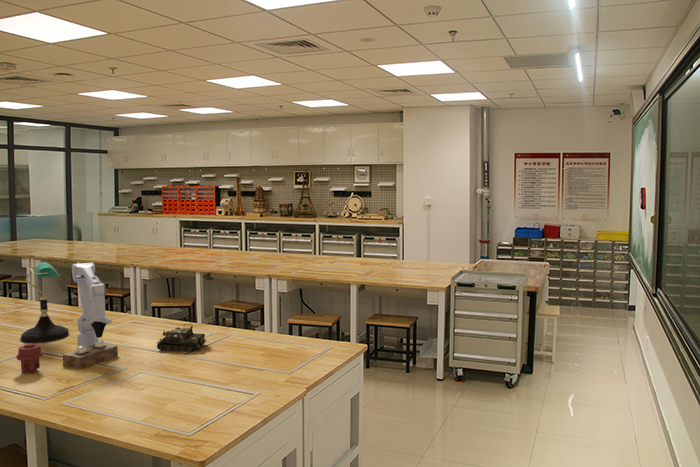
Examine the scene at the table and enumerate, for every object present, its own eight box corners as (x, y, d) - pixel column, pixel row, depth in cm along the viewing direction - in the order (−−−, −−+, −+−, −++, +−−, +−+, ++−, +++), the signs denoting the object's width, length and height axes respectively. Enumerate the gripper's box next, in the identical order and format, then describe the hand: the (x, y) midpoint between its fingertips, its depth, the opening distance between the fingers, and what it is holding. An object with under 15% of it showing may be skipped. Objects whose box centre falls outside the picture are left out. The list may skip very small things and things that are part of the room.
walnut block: (63, 365, 239) (62, 354, 238) (99, 352, 257) (99, 342, 256) (81, 368, 234) (81, 357, 233) (117, 356, 252) (117, 345, 252)
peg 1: (74, 357, 239) (74, 347, 239) (82, 355, 243) (82, 345, 243) (80, 358, 238) (80, 348, 237) (88, 356, 242) (88, 346, 241)
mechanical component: (32, 366, 236) (49, 369, 233) (11, 374, 227) (28, 376, 223) (31, 340, 235) (47, 342, 232) (10, 346, 226) (27, 348, 222)
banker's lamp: (71, 339, 280) (68, 265, 277) (21, 346, 267) (17, 269, 264) (66, 328, 302) (63, 260, 299) (19, 334, 289) (15, 263, 286)
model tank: (166, 344, 273) (166, 315, 272) (208, 345, 272) (207, 316, 270) (156, 351, 260) (155, 322, 259) (199, 352, 259) (199, 322, 258)
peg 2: (93, 351, 249) (93, 341, 248) (100, 349, 252) (100, 339, 252) (99, 352, 247) (99, 342, 247) (106, 350, 251) (106, 340, 250)
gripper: (80, 309, 247) (81, 337, 248) (102, 312, 241) (103, 341, 242) (93, 306, 254) (94, 333, 255) (114, 309, 248) (115, 337, 249)
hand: (99, 337), depth 249 cm, fingers closed
